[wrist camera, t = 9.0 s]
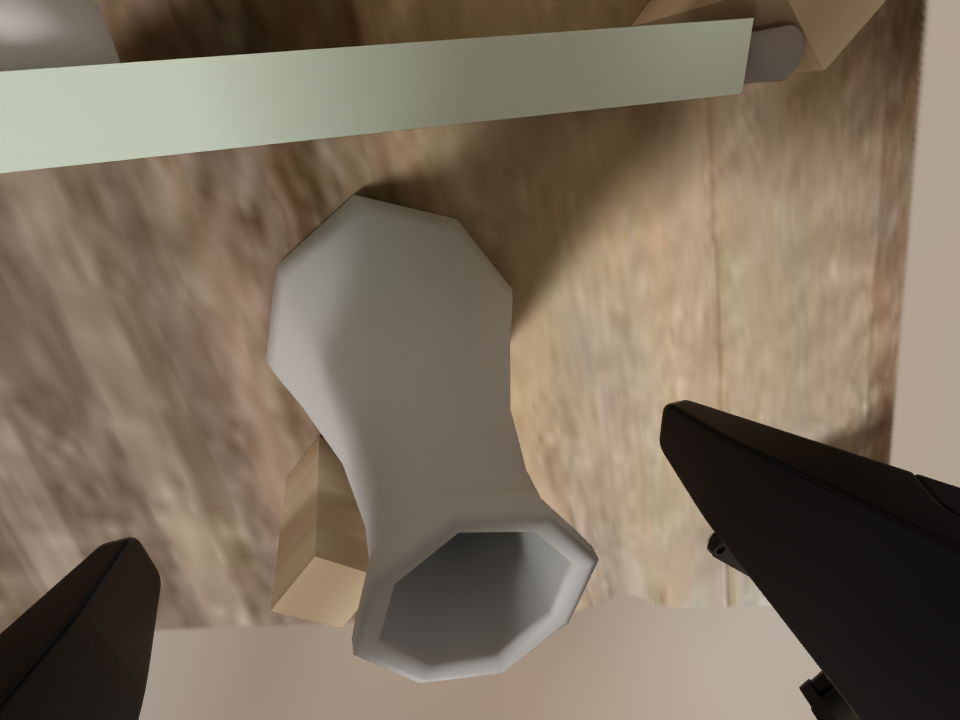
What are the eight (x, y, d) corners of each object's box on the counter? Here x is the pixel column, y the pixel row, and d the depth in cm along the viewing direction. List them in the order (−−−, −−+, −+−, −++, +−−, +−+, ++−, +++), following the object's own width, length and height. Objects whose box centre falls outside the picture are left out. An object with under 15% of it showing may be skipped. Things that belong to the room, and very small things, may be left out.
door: (617, 98, 13) (741, 93, 9) (80, 154, 11) (-70, 180, 7) (621, 0, 12) (764, -53, 8) (27, 35, 10) (-190, -18, 6)
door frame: (716, 26, 13) (896, -13, 9) (338, 499, 17) (341, 628, 13) (677, -36, 12) (858, -112, 8) (286, 479, 16) (270, 610, 12)
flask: (337, 141, 12) (360, 214, 4) (546, 276, 16) (813, 478, 7) (222, 369, 14) (59, 772, 6) (432, 446, 17) (533, 772, 9)
